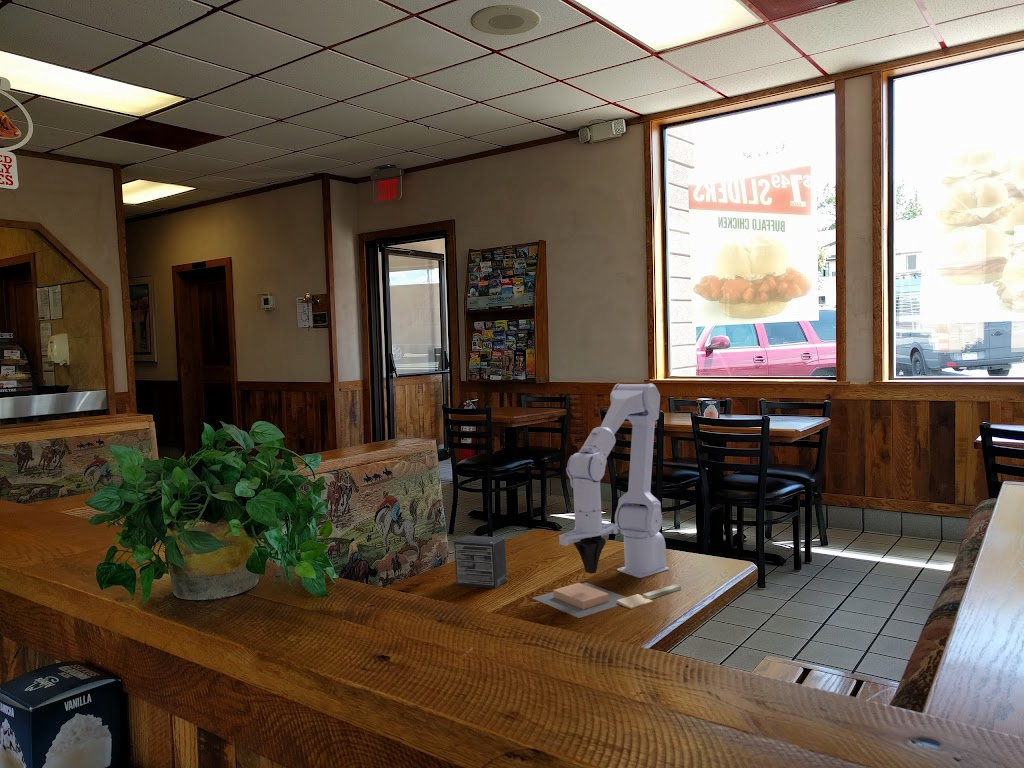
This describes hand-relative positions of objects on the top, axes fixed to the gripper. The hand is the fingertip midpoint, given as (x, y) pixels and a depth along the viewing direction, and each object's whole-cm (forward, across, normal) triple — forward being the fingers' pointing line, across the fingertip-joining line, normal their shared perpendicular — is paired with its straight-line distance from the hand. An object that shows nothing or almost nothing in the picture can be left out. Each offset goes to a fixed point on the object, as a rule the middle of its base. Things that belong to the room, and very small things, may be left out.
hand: (590, 572), depth 167 cm
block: (+4, 0, 0) cm, 4 cm away
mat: (+6, +3, 0) cm, 6 cm away
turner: (+5, -9, +9) cm, 14 cm away
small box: (+6, +12, -25) cm, 28 cm away
